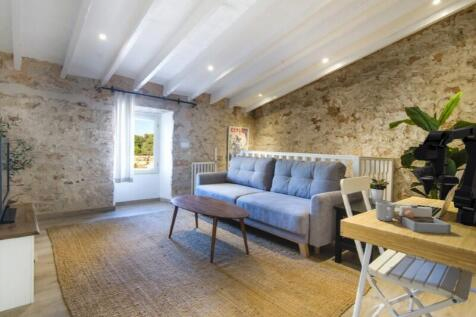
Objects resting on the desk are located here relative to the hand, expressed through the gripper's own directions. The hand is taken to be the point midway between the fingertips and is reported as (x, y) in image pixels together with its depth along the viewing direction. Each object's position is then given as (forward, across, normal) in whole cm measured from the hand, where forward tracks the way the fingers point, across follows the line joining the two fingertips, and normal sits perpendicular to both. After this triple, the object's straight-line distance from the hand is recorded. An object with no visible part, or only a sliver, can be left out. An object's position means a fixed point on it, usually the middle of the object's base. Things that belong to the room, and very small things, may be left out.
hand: (434, 197), depth 109 cm
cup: (+13, -6, -16) cm, 22 cm away
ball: (+9, -3, -8) cm, 12 cm away
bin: (+13, +3, -4) cm, 14 cm away
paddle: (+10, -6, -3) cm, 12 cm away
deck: (+13, -8, -3) cm, 15 cm away
